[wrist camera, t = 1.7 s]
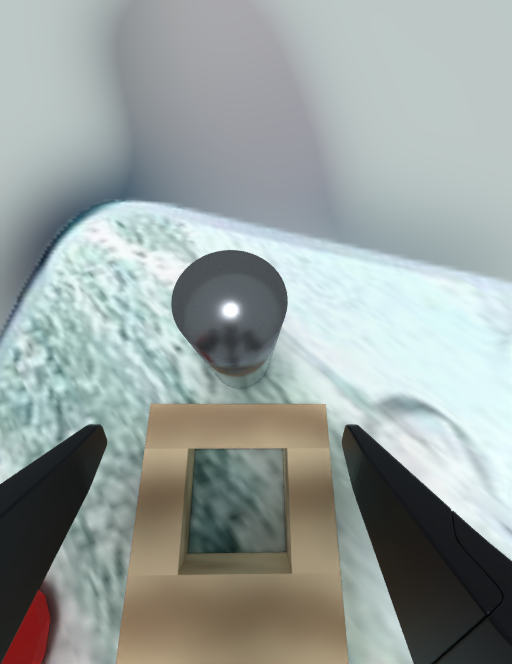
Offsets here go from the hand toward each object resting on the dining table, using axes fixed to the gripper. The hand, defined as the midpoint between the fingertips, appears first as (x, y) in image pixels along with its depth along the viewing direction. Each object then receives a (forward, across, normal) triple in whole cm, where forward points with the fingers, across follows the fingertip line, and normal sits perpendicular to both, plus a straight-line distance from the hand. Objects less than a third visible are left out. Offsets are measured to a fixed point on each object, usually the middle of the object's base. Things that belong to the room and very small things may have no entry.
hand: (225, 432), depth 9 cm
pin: (+12, 0, +5) cm, 13 cm away
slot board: (+5, 0, +12) cm, 13 cm away
